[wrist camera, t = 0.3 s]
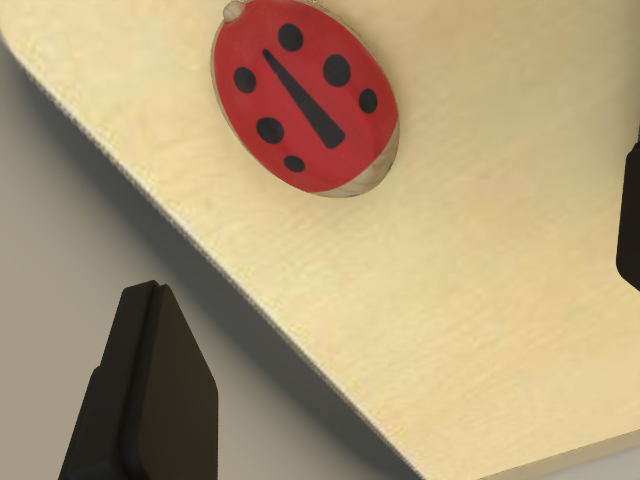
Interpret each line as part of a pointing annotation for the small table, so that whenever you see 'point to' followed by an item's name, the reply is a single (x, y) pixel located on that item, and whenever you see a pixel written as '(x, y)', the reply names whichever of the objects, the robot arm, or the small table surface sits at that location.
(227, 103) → the ladybug figurine
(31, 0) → the small table surface
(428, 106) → the small table surface
